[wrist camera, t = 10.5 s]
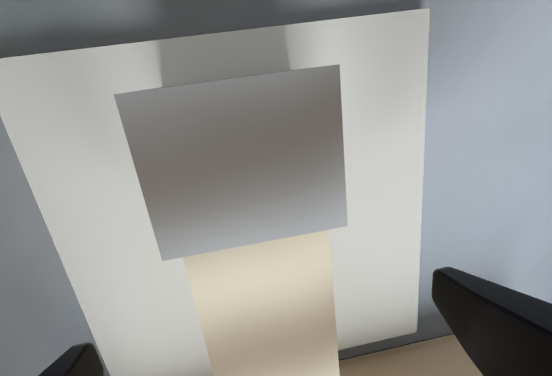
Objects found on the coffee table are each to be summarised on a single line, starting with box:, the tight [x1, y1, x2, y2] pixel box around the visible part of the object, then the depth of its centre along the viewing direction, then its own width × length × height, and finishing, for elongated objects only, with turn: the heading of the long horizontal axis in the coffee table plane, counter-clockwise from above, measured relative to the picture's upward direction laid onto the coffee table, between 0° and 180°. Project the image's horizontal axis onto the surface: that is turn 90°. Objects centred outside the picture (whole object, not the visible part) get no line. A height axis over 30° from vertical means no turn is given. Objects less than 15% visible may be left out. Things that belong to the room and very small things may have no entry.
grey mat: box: [0, 8, 430, 376], centre depth 14 cm, size 16×16×1 cm
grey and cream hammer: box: [114, 64, 348, 376], centre depth 11 cm, size 13×5×5 cm, turn 7°
